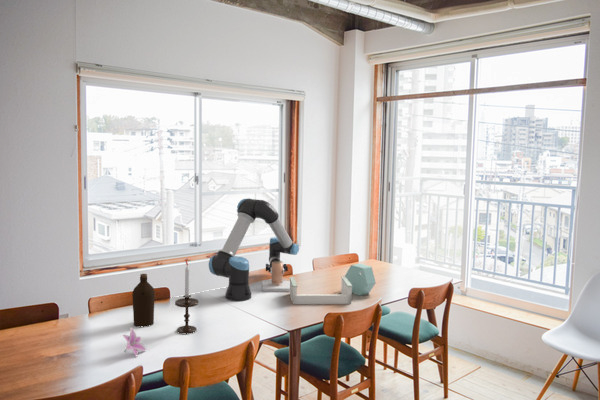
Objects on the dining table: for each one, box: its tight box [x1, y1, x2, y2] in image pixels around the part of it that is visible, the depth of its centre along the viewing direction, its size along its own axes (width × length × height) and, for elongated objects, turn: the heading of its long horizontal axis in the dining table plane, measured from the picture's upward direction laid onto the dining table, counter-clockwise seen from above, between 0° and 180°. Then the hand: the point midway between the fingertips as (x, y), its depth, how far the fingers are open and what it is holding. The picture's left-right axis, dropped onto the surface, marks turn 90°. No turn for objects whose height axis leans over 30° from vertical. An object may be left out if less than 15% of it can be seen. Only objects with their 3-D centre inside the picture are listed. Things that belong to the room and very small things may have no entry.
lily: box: [122, 327, 147, 357], centre depth 209 cm, size 12×12×10 cm
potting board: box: [261, 280, 290, 293], centre depth 314 cm, size 18×18×2 cm
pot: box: [270, 260, 284, 284], centre depth 313 cm, size 7×7×13 cm
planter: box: [344, 263, 376, 296], centre depth 307 cm, size 17×8×21 cm
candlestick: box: [174, 260, 199, 335], centre depth 234 cm, size 11×11×35 cm
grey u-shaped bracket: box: [289, 276, 353, 305], centre depth 293 cm, size 35×20×11 cm, turn 96°
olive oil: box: [131, 273, 156, 328], centre depth 242 cm, size 11×11×25 cm
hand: (277, 272), depth 309 cm, fingers closed on pot, 7 cm apart
